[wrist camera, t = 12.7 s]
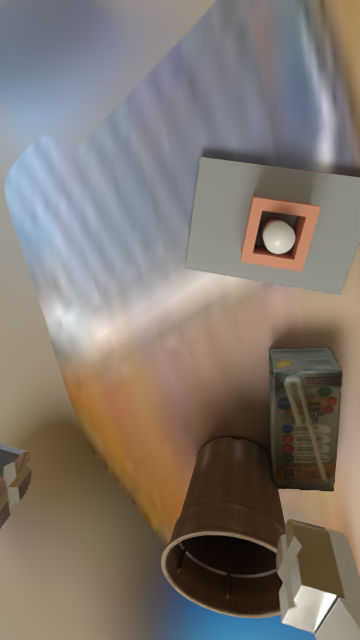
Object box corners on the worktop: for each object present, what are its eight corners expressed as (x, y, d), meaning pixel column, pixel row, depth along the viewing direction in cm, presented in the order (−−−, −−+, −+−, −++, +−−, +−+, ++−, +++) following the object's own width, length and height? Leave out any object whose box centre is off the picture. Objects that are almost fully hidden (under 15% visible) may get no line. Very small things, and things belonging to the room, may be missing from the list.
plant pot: (241, 513, 54) (241, 634, 40) (166, 464, 53) (136, 570, 38) (309, 465, 47) (338, 590, 33) (224, 407, 46) (215, 510, 31)
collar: (310, 203, 32) (321, 206, 28) (294, 260, 35) (301, 271, 30) (252, 195, 33) (253, 197, 28) (240, 251, 35) (240, 261, 31)
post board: (376, 180, 31) (418, 179, 24) (336, 291, 36) (360, 319, 29) (201, 157, 33) (189, 150, 26) (186, 266, 38) (173, 285, 31)
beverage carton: (332, 344, 39) (348, 373, 33) (325, 458, 46) (337, 498, 40) (267, 346, 41) (271, 373, 35) (270, 455, 48) (273, 493, 42)
